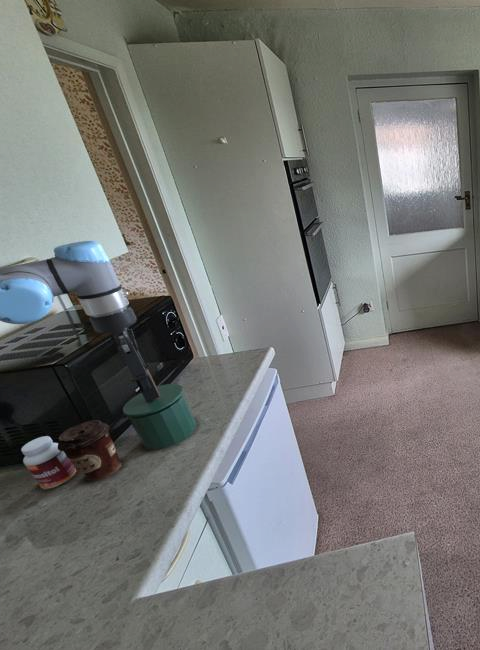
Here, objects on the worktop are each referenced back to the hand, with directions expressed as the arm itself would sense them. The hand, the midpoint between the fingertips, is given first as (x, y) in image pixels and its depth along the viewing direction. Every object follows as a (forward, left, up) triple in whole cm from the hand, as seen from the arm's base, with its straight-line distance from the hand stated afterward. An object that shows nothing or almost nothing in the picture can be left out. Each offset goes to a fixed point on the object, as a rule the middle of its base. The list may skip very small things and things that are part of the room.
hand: (152, 395), depth 95 cm
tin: (0, 0, -13) cm, 13 cm away
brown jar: (-10, -10, -13) cm, 19 cm away
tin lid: (0, 0, -1) cm, 1 cm away
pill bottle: (-20, -9, -13) cm, 26 cm away
